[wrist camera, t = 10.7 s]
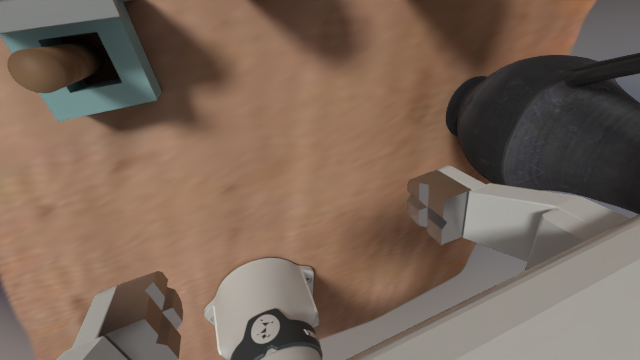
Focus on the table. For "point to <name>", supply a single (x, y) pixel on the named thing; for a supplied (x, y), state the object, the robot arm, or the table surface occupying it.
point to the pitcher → (554, 127)
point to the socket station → (73, 20)
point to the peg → (55, 65)
